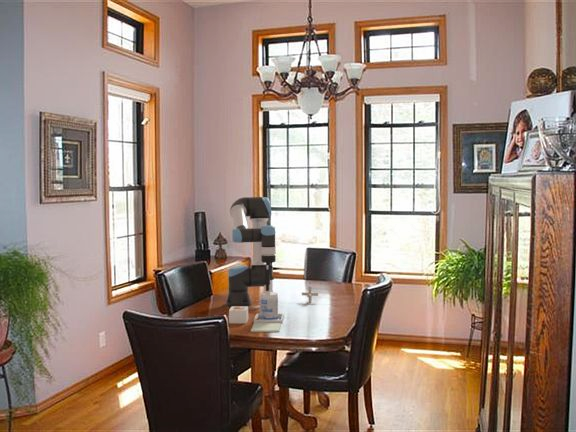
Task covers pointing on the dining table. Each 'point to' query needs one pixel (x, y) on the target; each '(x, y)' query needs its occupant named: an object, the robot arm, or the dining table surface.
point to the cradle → (269, 320)
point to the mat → (266, 327)
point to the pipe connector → (310, 294)
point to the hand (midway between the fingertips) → (268, 294)
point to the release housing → (238, 314)
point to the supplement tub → (269, 306)
